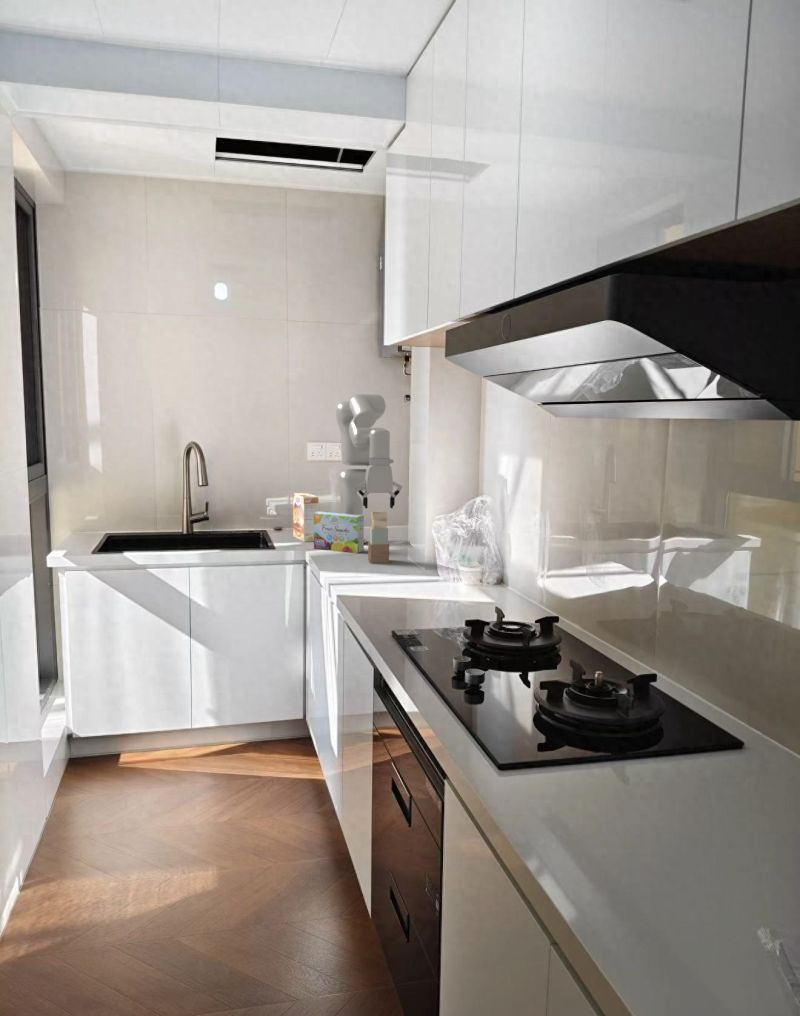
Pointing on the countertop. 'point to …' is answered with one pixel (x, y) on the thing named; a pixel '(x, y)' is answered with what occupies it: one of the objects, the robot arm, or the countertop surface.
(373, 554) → the walnut base block
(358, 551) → the snack box
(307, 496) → the coffeecake box
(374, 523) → the ash block
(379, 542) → the sage top block
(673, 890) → the countertop surface
